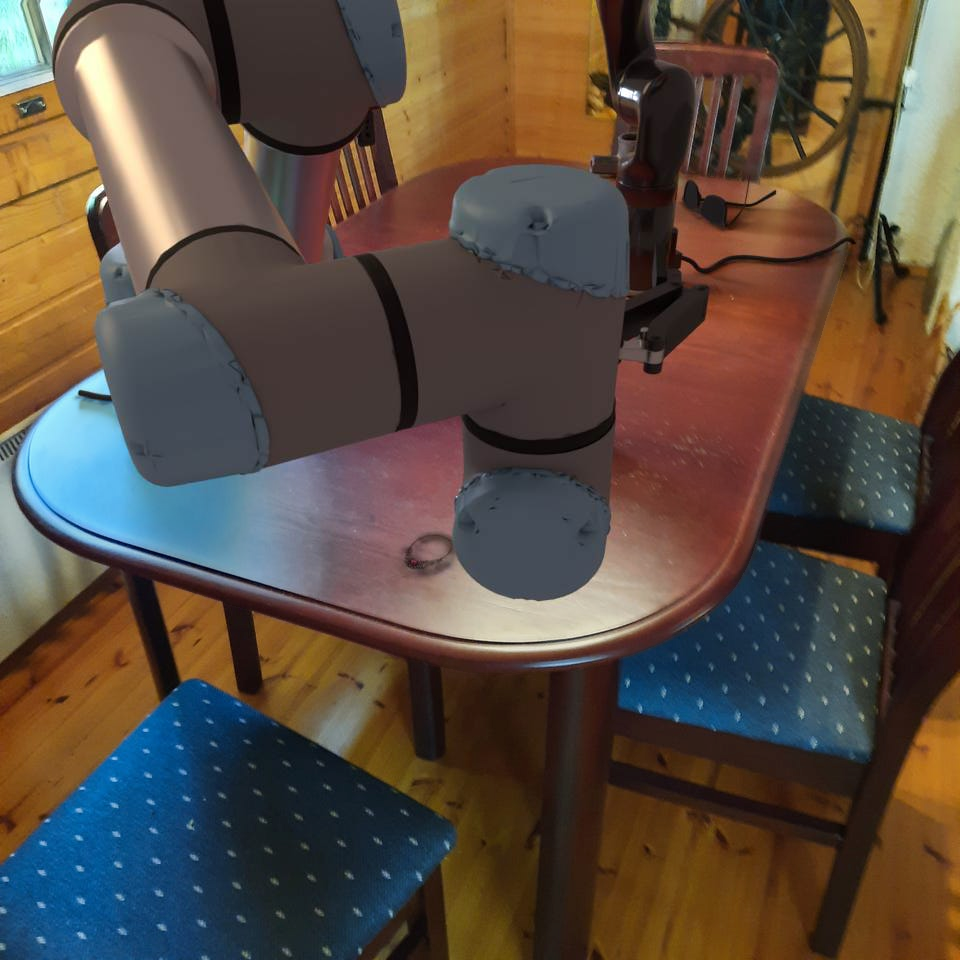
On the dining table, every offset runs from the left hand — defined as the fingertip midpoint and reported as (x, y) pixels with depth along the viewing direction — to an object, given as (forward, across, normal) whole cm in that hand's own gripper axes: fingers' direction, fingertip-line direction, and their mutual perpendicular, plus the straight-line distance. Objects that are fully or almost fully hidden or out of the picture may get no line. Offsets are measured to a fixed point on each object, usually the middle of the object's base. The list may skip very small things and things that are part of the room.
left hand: (572, 256), depth 69 cm
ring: (-3, -13, -31) cm, 34 cm away
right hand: (+40, -29, -2) cm, 50 cm away
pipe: (+122, +4, -31) cm, 126 cm away
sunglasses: (+102, +25, -31) cm, 109 cm away
